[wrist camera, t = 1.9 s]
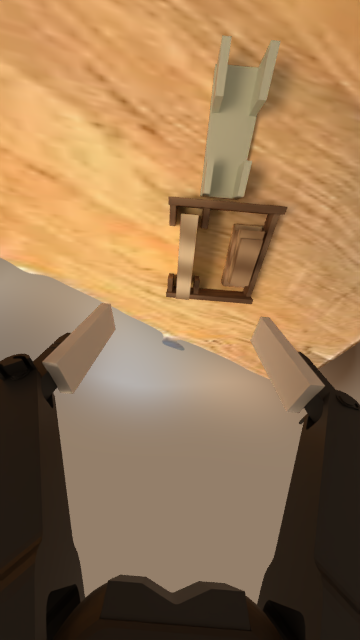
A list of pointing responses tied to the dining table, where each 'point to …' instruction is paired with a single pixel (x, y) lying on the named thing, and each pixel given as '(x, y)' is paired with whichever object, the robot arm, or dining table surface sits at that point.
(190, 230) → the plywood sheet
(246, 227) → the rack
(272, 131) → the dining table surface
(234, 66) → the display stand
